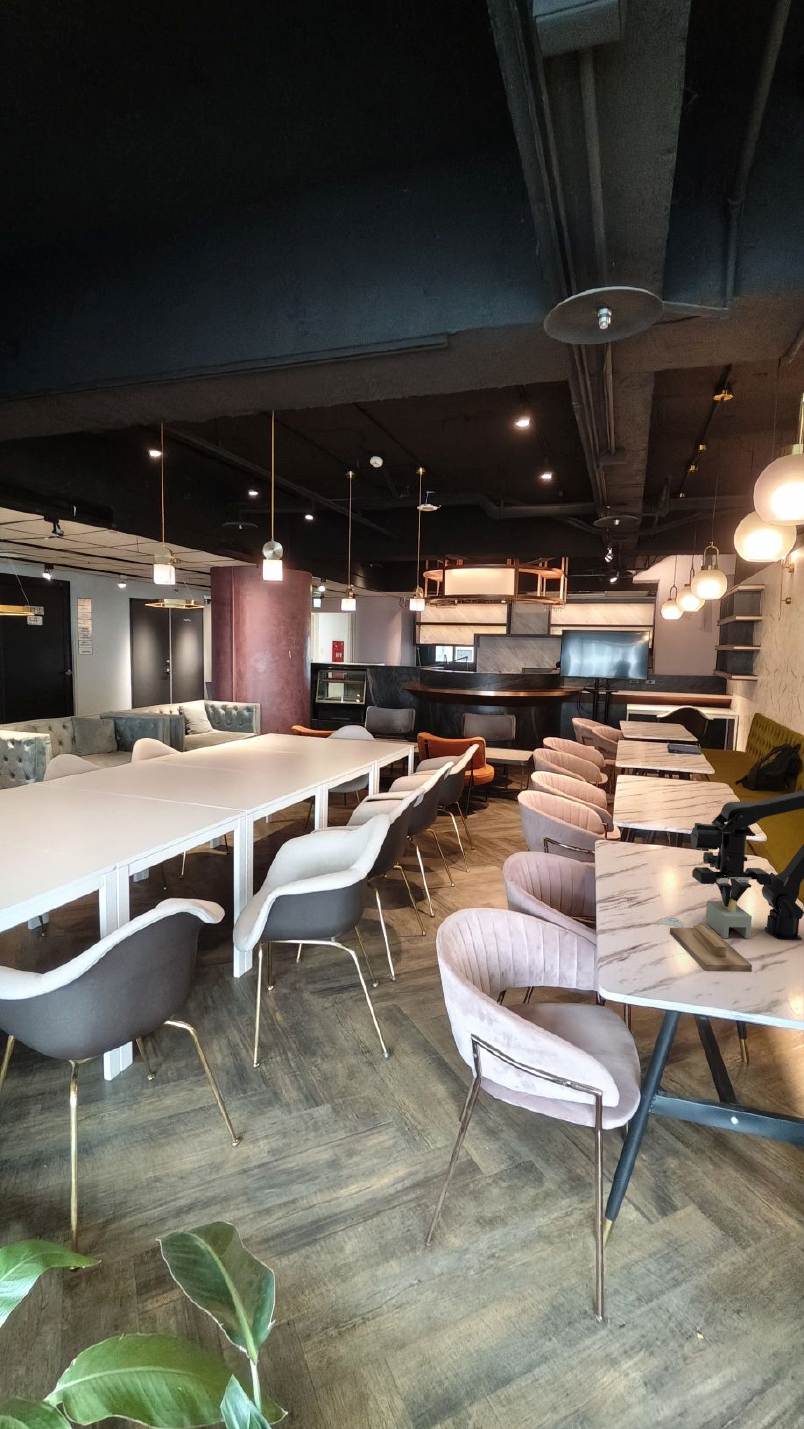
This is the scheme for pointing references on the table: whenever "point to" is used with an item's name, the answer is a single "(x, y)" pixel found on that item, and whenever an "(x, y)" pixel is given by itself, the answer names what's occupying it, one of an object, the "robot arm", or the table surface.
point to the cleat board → (707, 956)
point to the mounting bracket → (672, 922)
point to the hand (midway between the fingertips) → (728, 906)
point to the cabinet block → (728, 918)
